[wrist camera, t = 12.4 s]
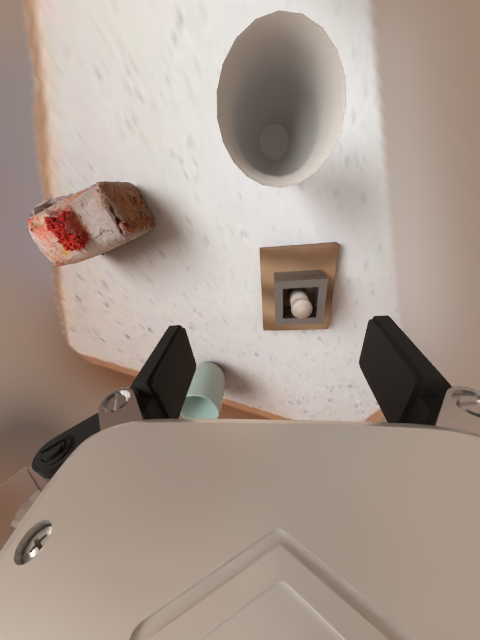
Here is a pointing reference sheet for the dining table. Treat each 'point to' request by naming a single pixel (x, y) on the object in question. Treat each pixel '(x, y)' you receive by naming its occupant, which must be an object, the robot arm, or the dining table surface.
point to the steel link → (300, 280)
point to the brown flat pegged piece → (297, 298)
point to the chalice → (281, 99)
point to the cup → (205, 393)
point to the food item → (89, 222)
